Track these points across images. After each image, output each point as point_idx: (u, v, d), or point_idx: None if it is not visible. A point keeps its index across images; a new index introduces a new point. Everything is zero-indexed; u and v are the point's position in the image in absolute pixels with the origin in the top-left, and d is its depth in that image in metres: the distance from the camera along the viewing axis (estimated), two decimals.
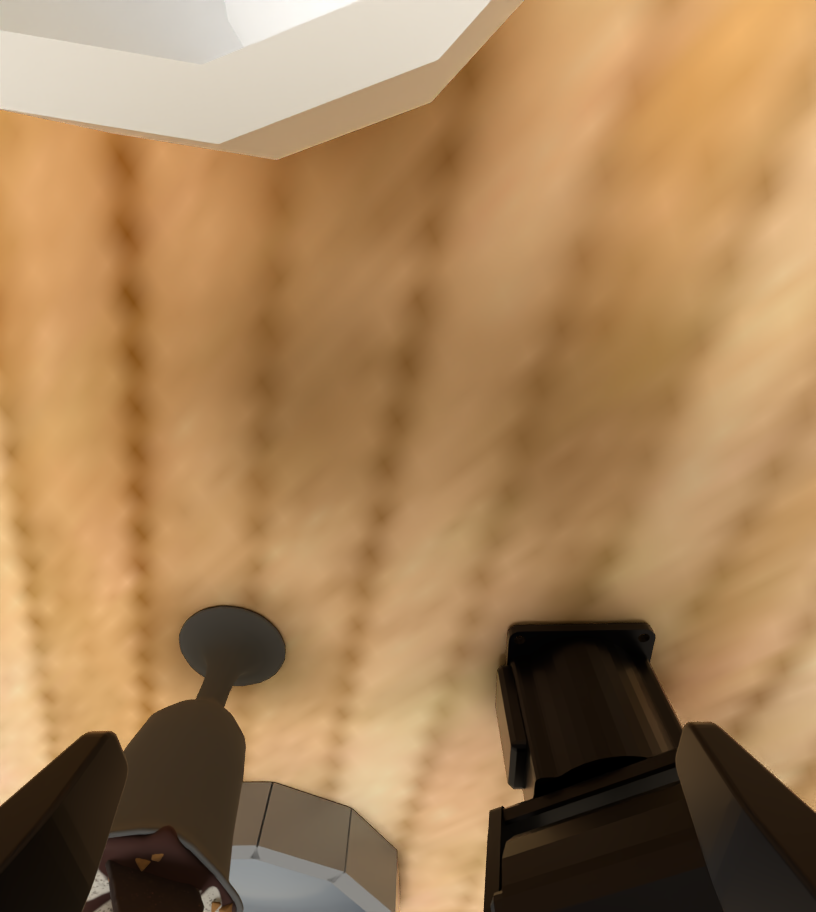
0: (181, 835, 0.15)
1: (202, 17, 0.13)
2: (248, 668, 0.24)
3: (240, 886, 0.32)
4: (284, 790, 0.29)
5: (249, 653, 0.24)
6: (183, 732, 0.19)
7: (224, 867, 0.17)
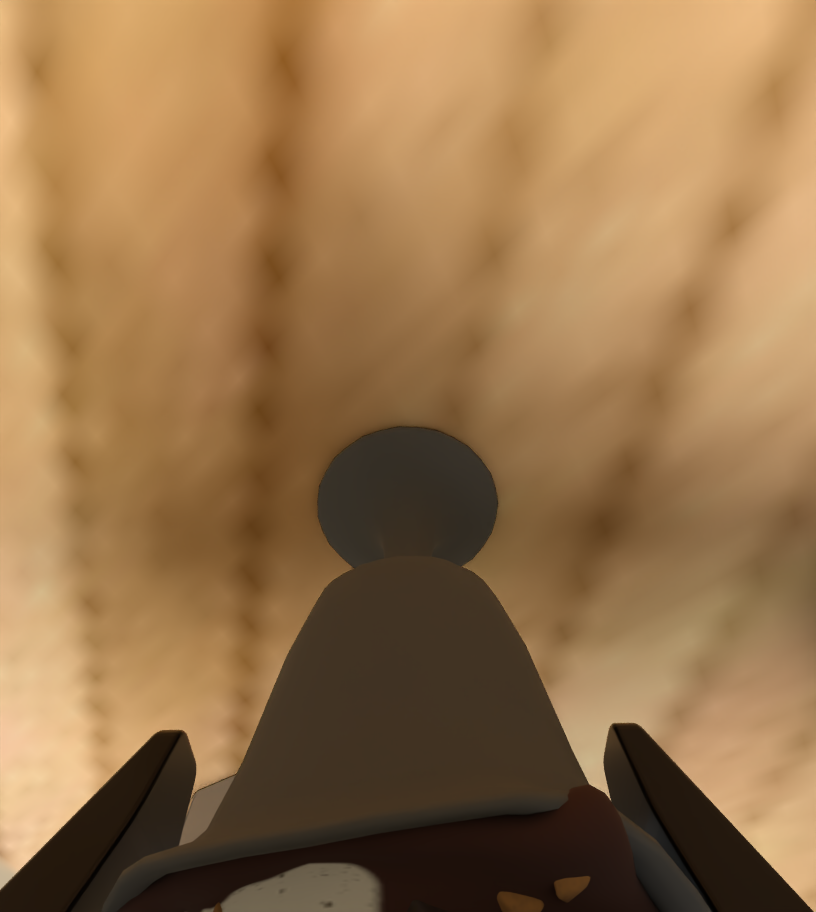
0: (622, 816, 0.05)
1: None
2: (442, 540, 0.14)
3: None
4: None
5: (447, 512, 0.14)
6: (435, 595, 0.08)
7: None
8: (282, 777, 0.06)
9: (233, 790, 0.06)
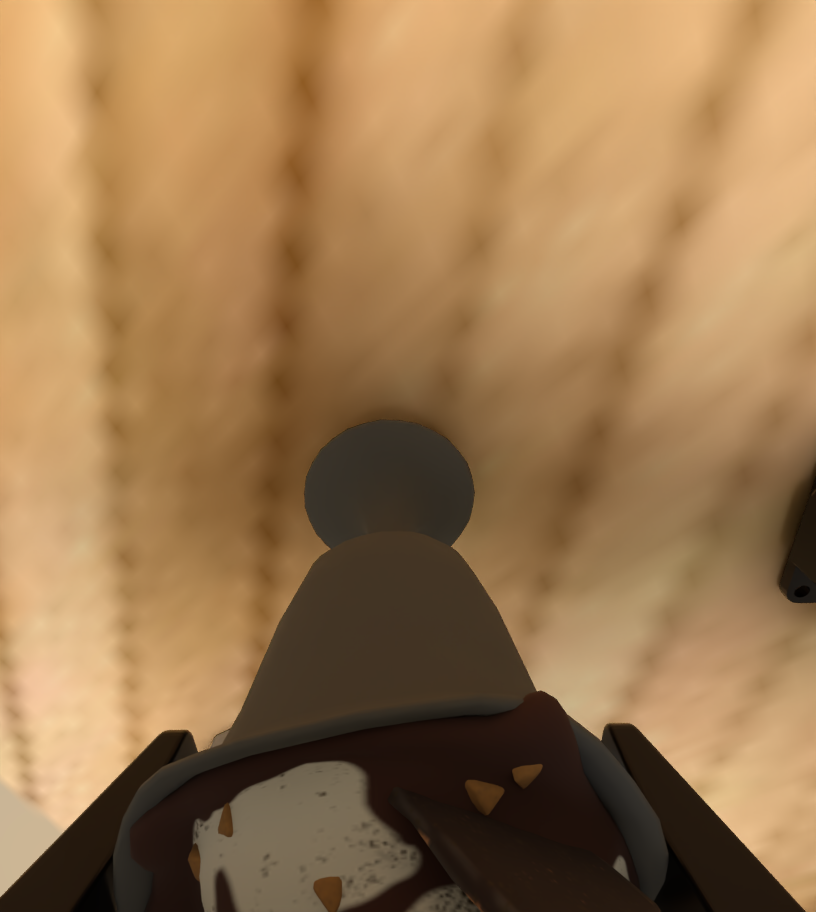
0: (570, 718, 0.06)
1: None
2: (422, 527, 0.15)
3: None
4: None
5: (427, 499, 0.15)
6: (415, 562, 0.09)
7: None
8: (280, 705, 0.06)
9: (235, 724, 0.07)
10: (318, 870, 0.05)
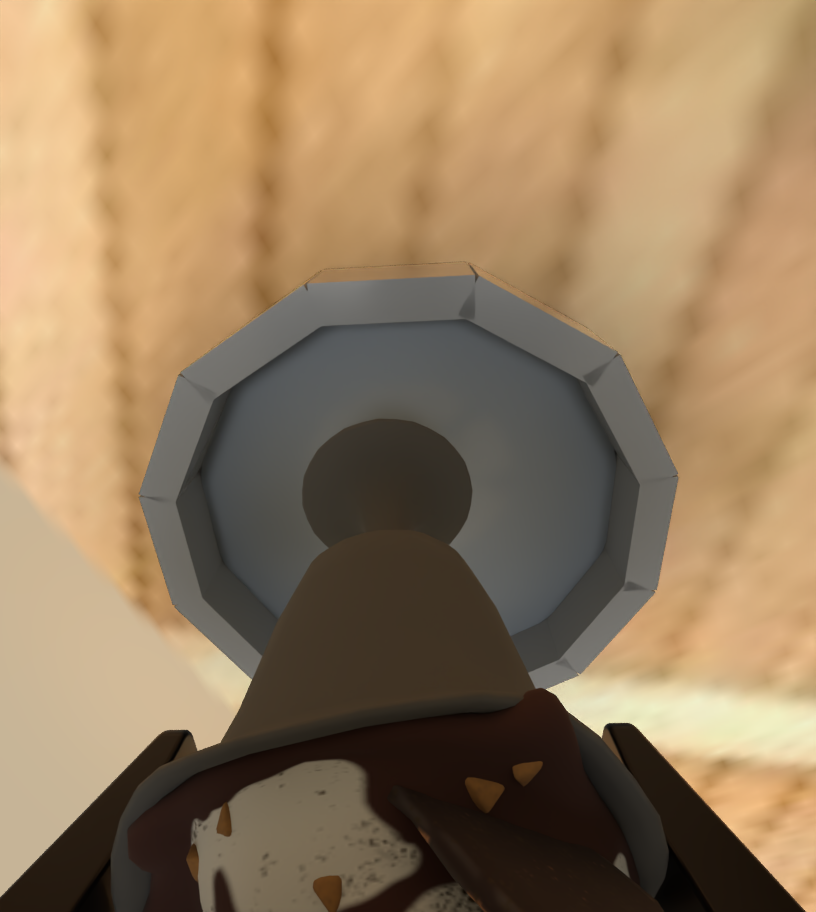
0: (570, 715, 0.06)
1: None
2: (420, 525, 0.15)
3: None
4: (488, 273, 0.18)
5: (425, 498, 0.15)
6: (413, 560, 0.09)
7: None
8: (279, 704, 0.06)
9: (234, 723, 0.07)
10: (318, 869, 0.05)
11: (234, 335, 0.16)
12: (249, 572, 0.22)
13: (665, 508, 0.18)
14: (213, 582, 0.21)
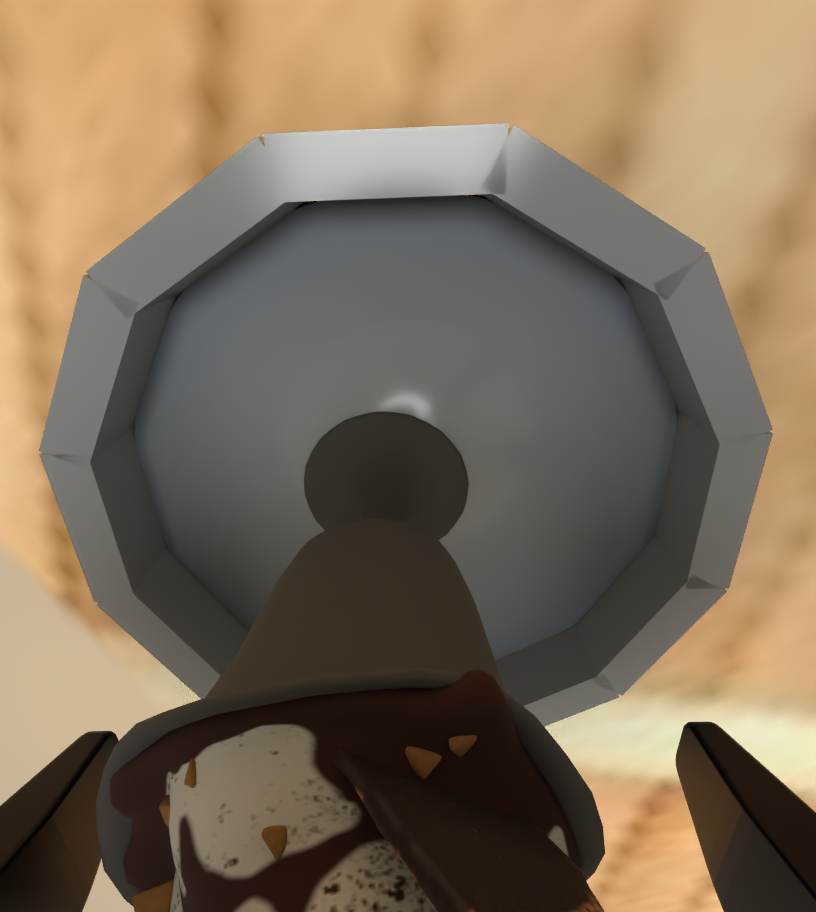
0: (508, 696, 0.06)
1: None
2: (416, 516, 0.15)
3: None
4: None
5: (421, 489, 0.15)
6: (392, 548, 0.10)
7: None
8: (248, 674, 0.07)
9: (210, 690, 0.07)
10: (267, 819, 0.06)
11: (160, 215, 0.11)
12: (201, 562, 0.17)
13: (750, 478, 0.13)
14: (151, 573, 0.16)
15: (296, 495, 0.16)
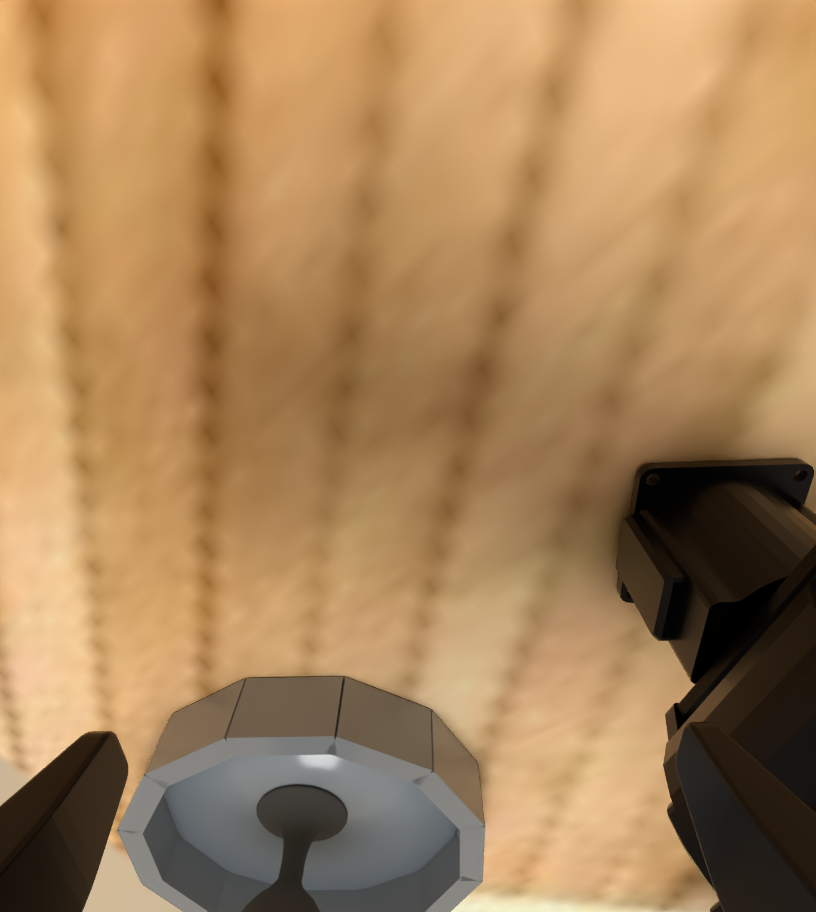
0: None
1: None
2: (316, 836, 0.28)
3: None
4: (358, 685, 0.26)
5: (318, 824, 0.28)
6: None
7: None
8: None
9: None
10: None
11: (180, 758, 0.24)
12: (199, 841, 0.30)
13: (479, 841, 0.26)
14: (172, 859, 0.29)
15: (252, 815, 0.29)
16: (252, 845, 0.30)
